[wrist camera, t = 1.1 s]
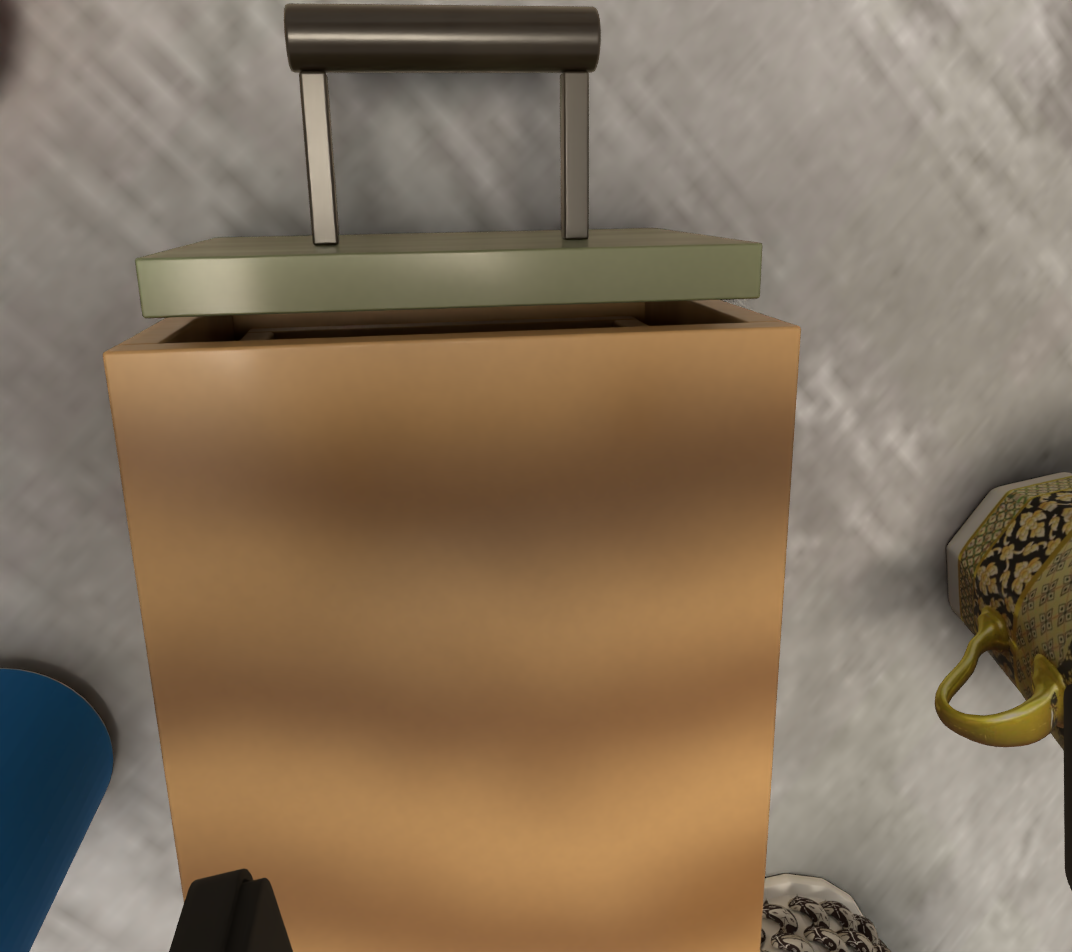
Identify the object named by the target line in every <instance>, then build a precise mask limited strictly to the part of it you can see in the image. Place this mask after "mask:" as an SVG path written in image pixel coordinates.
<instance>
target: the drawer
mask: <svg viewBox="0 0 1072 952" xmlns="http://www.w3.org/2000/svg"><path fill="white" fill-rule="evenodd" d="M284 30H285V41H286V50H287V57H288V62H289V66H290V69H291V71H292V72H295V73H299V81H300V93H301V105H302V118H303V130H304V142H305V155H306V167H307V179H308V191H309V204H310V216H311V228H312V235H308V236H263V237H217V238H212V239H208V240H204V241H200V242H196V243H193V244H189V245H185V246H181V247H177V248H174V249H170V250H166V251H162V252H158V253H155V254H151V255H147V256H143V257H139V258H136V259H135V265H136V272H137V279H138V287H139V294H140V302H141V309H142V316H143V317H144V318H169V317H200V316H231V315H262V314H293V313H323V312H354V311H385V310H416V309H447V308H478V307H508V306H539V305H570V304H601V303H632V302H662V301H693V300H724V299H755V298H759V296H760V281H761V262H762V243H758V242H751V241H744V240H737V239H729V238H722V237H715V236H708V235H701V234H694V233H687V232H680V231H673V230H666V229H658V228H629V229H589V73H591V72H594V71H595V70H596V67H597V64H598V60H599V54H600V43H601V28H600V18H599V14H598V11H597V9H596V8H595V7H585V6H485V5H384V4H286V5H285V8H284ZM326 73H562V74H561V75H560V157H561V230H538V231H492V232H446V233H400V234H354V235H339V226H338V212H337V198H336V185H335V171H334V157H333V144H332V130H331V116H330V102H329V89H328V77H327V75H326ZM639 326H648V325H646V324H644V323H643V322H641V321H639V320H637V319H636V318H634V317H632V316H609V317H580V318H551V319H522V320H493V321H464V322H434V323H405V324H376V325H347V326H318V327H289V328H260V329H250V330H249V331H248V332H247V333H246V335H245V336H244V337H243V338H242V339H241V340H240V341H249V340H277V339H305V338H333V337H361V336H388V335H416V334H444V333H472V332H500V331H528V330H555V329H583V328H611V327H639Z"/></svg>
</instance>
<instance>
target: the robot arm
mask: <svg viewBox="0 0 1072 952" xmlns="http://www.w3.org/2000/svg"><path fill="white" fill-rule="evenodd" d="M1063 707H1064V824H1065V872H1066V877H1067V880H1068V883H1069V885H1070V888H1071V890H1072V684H1069V685H1068V686H1066V688H1065V690H1064V697H1063ZM169 952H293V950H292V947H291V944H290V940H289V937H288V934H287V931H286V928H285V925H284V922H283V919H282V916H281V913H280V910H279V907H278V904H277V901H276V898H275V894H274V891H273V888H272V886H271V883H270V881H269V880H268V879H267V878H260V879H256V880H253V878H252V875H251V873H250V872H249V871H248V869H244V868H243V869H239V870H235V871H230V872H226V873H222V874H218V875H214V876H210V877H205V878H201V879H197V880H195V881H193V882H192V883H191V885H190V887H189V889H188V892H187V896H186V899H185V902H184V905H183V909H182V912H181V915H180V918H179V922H178V925H177V928H176V931H175V935H174V938H173V941H172V944H171V947H170V951H169Z"/></svg>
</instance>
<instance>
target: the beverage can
mask: <svg viewBox="0 0 1072 952" xmlns="http://www.w3.org/2000/svg"><path fill="white" fill-rule="evenodd" d="M112 769H113V750H112V744H111V740H110V736H109V734H108V731H107V729H106V726H105V724H104V723H103V721H102V719H101V718H100V716H99V715H98V713H97V712H96V711H95V709H94V708H93V707H92V706H91V705H90V704H89V703H88V702H87V701H86V700H85V699H84V698H83V697H82V696H81V695H79V694H78V693H77V692H75V691H74V690H73V689H71V688H70V687H68V686H66V685H65V684H63V683H61V682H59V681H57V680H55V679H52V678H50V677H48V676H45V675H42V674H38V673H35V672H31V671H26V670H21V669H11V668H0V952H29V951H30V949H31V947H32V945H33V943H34V941H35V938H36V936H37V934H38V932H39V930H40V928H41V926H42V924H43V922H44V920H45V918H46V915H47V913H48V911H49V909H50V907H51V905H52V903H53V901H54V899H55V897H56V894H57V892H58V890H59V888H60V886H61V884H62V882H63V880H64V878H65V876H66V874H67V871H68V869H69V867H70V865H71V863H72V861H73V859H74V857H75V855H76V853H77V851H78V848H79V846H80V844H81V842H82V840H83V838H84V836H85V834H86V832H87V830H88V827H89V825H90V823H91V821H92V819H93V817H94V815H95V813H96V811H97V809H98V807H99V804H100V802H101V800H102V798H103V796H104V794H105V792H106V789H107V787H108V785H109V782H110V779H111V774H112Z"/></svg>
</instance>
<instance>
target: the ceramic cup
mask: <svg viewBox="0 0 1072 952" xmlns="http://www.w3.org/2000/svg"><path fill="white" fill-rule="evenodd" d="M947 572H948V592H949V603H950V605H951V608H952V610H953V612H954V613H955V614H956V615H957V616H958V617H959V618H960V619H961V620H962V621H963V622H964V624H965V625H966V626H967V627H968V628H969V630H970V631H971V632H972V633H973V634H974V635H975V636H974V637H973V638H972V639H971V641H970V642H969V644H968V646H967V649H966V651H965V654H964V656H963V658H962V660H961V661H960V662H959V663H958V665H957V666H956V667H955V668H954V669H953V670H952V671H951V672H950V673H949V674H948V675H947V676H946V677H945V679H944V680H943V681H942V683H941V684H940V685H939V687H938V690H937V692H936V696H935V709H936V712H937V714H938V716H939V718H940V720H941V721H942V722H943V724H944V725H945V726H947V727H948V728H949V729H951V730H952V731H954V732H955V733H957V734H959V735H961V736H963V737H965V738H967V739H969V740H972V741H975V742H977V743H981V744H984V745H989V746H995V747H1016V746H1024V745H1029V744H1032V743H1035V742H1037V741H1039V740H1041V739H1043V738H1044V737H1046V736H1047V735H1048V734H1050V733H1051V734H1052V735H1053V737H1054V738H1055V739H1056V741H1057V742H1058V743H1059V745H1060V746H1061V747H1062V749H1063V750H1064V707H1063V697H1064V690H1065V688H1066V686H1068V685H1069V684H1072V473H1067V472H1061V473H1056V474H1051V475H1047V476H1043V477H1038V478H1034V479H1030V480H1025V481H1021V482H1017V483H1012V484H1008V485H1004V486H999V487H997V488H994V489H992V490H991V491H990V492H989V493H988V494H987V496H986V497H985V498H984V499H983V501H982V502H981V503H980V504H979V506H978V507H977V508H976V509H975V511H974V512H973V513H972V514H971V516H970V517H969V518H968V520H967V521H966V522H965V523H964V525H963V526H962V527H961V528H960V530H959V531H958V532H957V533H956V535H955V536H954V537H953V539H952V540H951V541H950V543H949V544H948V546H947ZM986 651H988V652H989V653H990V655H991V656H992V657H993V658H994V660H995V661H996V662H997V664H998V665H999V666H1000V667H1001V669H1002V670H1003V671H1004V672H1005V674H1006V675H1007V676H1008V677H1009V679H1010V680H1011V681H1012V682H1013V683H1014V685H1015V686H1016V687H1017V688H1018V690H1019V691H1020V692H1021V694H1022V695H1023V697H1024V698H1025V700H1026V701H1025V702H1024V703H1022V704H1021V705H1019V706H1017V707H1015V708H1013V709H1011V710H1008V711H1004V712H1001V713H998V714H992V715H985V716H983V715H971V714H964V713H962V712H959V711H957V710H955V709H953V708H952V707H951V706H950V705H949V704H948V703H949V702H950V700H951V698H952V697H953V696H954V695H955V694H956V692H957V691H958V690H959V689H960V688H961V687H962V686H963V685H964V684H965V682H966V681H967V680H968V679H969V677H970V676H971V675H972V673H973V672H974V670H975V668H976V665H977V662H978V658H979V657H980V655H981V654H983V653H984V652H986Z"/></svg>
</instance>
